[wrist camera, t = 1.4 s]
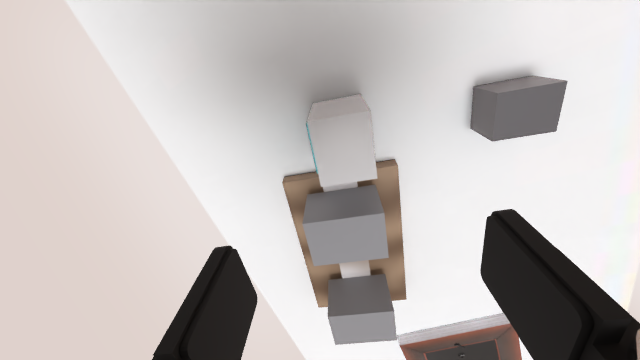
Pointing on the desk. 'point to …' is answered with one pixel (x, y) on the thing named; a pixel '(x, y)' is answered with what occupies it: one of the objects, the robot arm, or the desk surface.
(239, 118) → the desk surface
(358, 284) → the mounted modules
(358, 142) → the block
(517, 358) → the picture frame
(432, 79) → the desk surface
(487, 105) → the grey rectangular block
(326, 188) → the rail board
